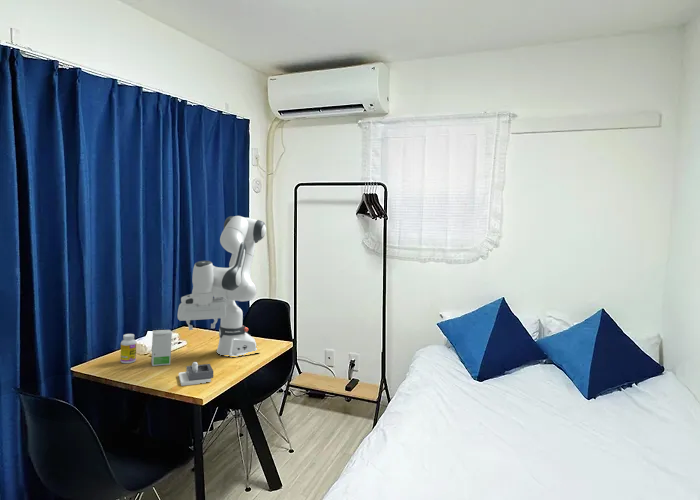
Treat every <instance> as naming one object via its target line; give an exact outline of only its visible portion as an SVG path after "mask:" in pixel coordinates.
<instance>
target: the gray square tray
mask: <svg viewBox="0 0 700 500" xmlns="http://www.w3.org/2000/svg"><path fill="white" fill-rule="evenodd" d="M185 368H186V369H185V372H186V373H187V376H188V379H189V381H191V380H200V379H209V378H211V379H213V378H214V369H213V367H212V366H211V363H205V364H204V363H203V364H198V372H192V365H186V367H185Z"/></svg>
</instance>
